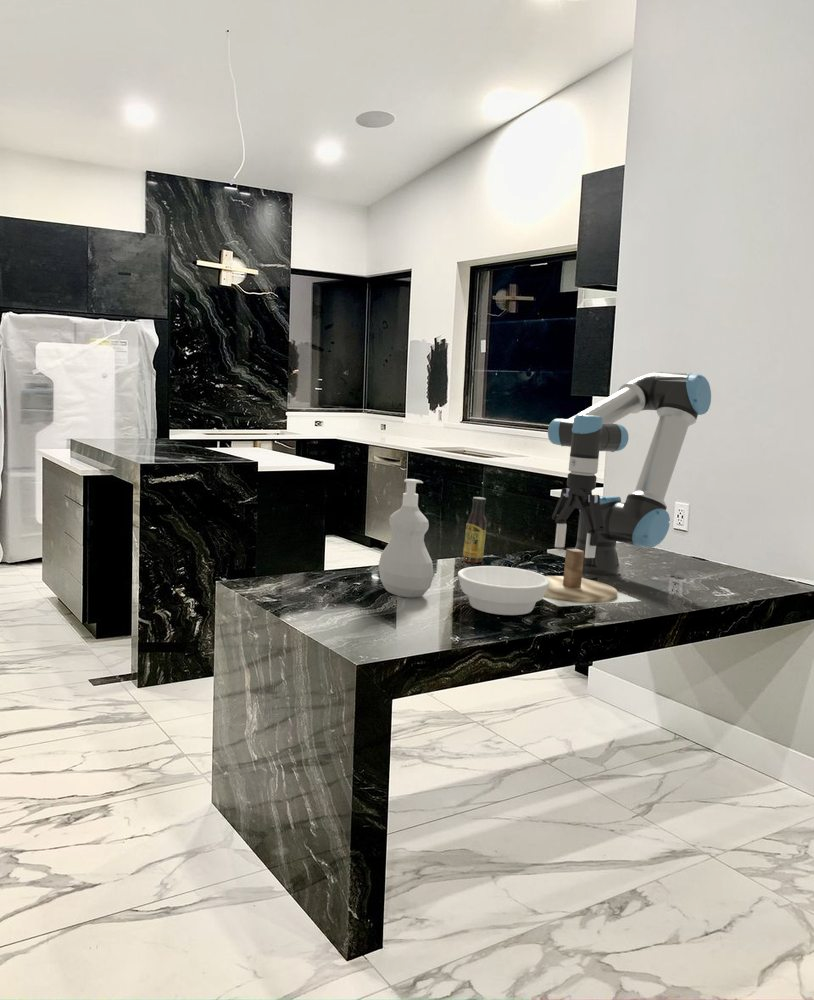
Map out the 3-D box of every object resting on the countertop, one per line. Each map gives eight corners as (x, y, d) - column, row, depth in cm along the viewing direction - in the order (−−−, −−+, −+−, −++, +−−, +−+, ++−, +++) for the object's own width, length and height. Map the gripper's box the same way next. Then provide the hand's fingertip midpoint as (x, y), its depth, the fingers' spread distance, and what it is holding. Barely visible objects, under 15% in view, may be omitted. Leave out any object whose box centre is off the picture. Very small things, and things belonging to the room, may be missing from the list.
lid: (581, 578, 248) (584, 540, 247) (635, 600, 227) (640, 558, 225) (509, 582, 238) (513, 542, 236) (560, 605, 216) (564, 561, 215)
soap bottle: (443, 598, 218) (451, 483, 213) (408, 604, 210) (417, 485, 206) (399, 583, 230) (406, 474, 226) (365, 588, 222) (372, 476, 218)
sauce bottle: (458, 560, 265) (463, 496, 262) (471, 558, 269) (475, 495, 266) (475, 564, 260) (480, 499, 258) (487, 562, 265) (492, 498, 262)
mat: (581, 579, 250) (581, 577, 249) (641, 603, 226) (641, 600, 226) (504, 583, 239) (504, 581, 238) (558, 608, 215) (559, 606, 215)
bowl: (484, 592, 227) (487, 561, 226) (562, 610, 214) (565, 577, 213) (437, 608, 209) (440, 574, 208) (520, 628, 196) (523, 592, 195)
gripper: (544, 467, 237) (536, 543, 240) (600, 479, 215) (591, 562, 218) (566, 468, 240) (558, 542, 243) (624, 480, 218) (615, 562, 221)
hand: (574, 552), depth 231 cm, fingers open, 13 cm apart
